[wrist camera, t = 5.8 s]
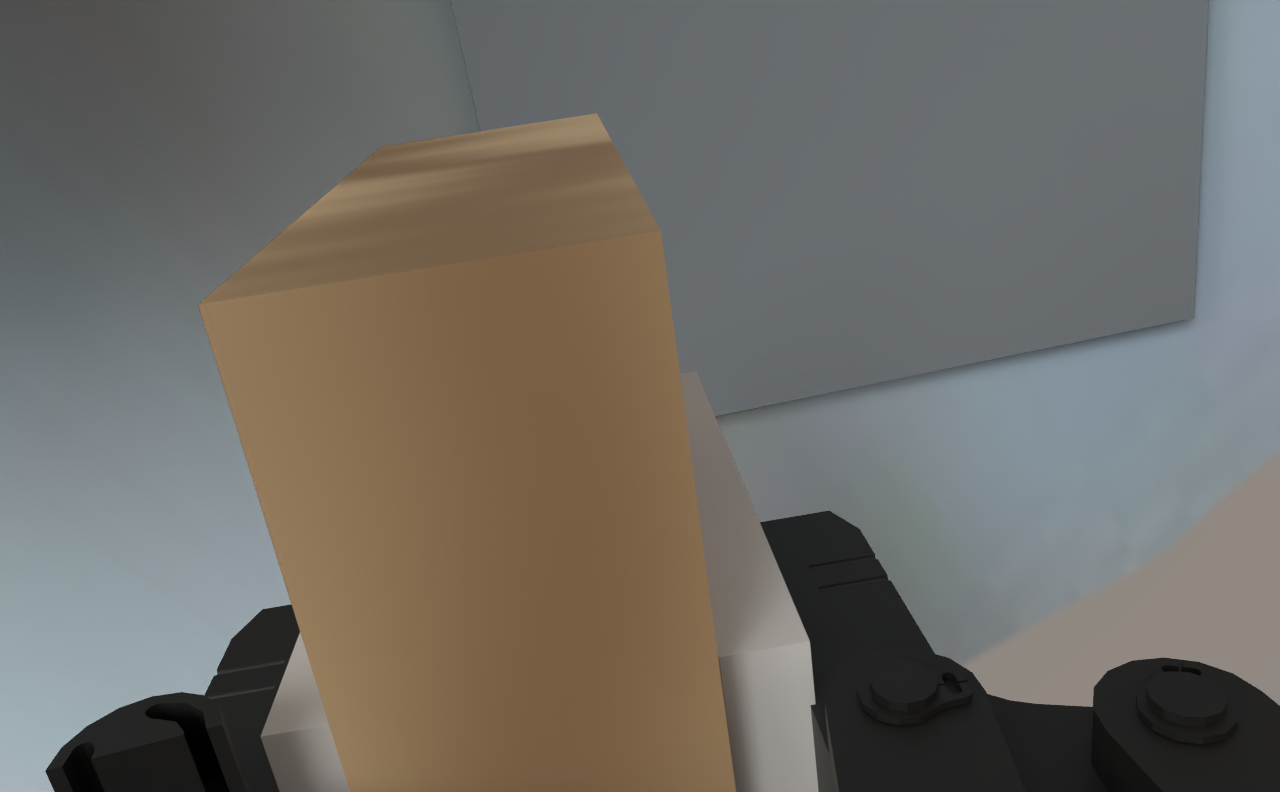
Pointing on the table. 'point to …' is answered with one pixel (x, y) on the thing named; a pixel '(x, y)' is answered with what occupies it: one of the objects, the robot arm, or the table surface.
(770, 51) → the mat
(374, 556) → the slab
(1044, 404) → the table surface
